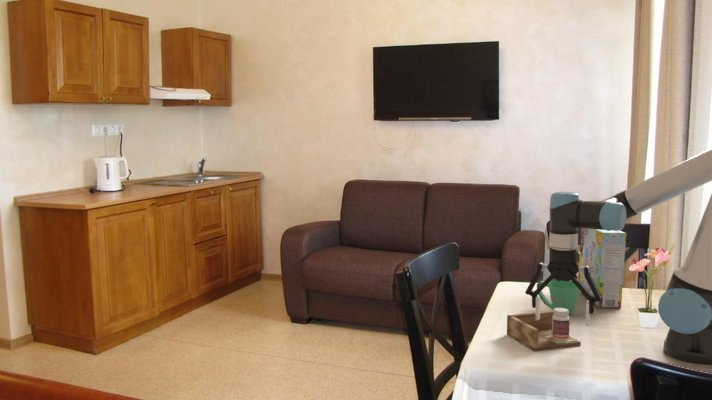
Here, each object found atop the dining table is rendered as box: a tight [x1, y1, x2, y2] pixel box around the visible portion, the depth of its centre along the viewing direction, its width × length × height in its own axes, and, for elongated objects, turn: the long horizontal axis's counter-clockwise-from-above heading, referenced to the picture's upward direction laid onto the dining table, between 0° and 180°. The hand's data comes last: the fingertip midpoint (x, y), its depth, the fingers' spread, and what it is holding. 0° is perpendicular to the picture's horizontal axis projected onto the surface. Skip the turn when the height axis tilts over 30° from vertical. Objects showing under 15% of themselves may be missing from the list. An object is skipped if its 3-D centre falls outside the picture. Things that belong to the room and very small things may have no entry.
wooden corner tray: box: [506, 309, 581, 353], centre depth 182 cm, size 14×15×6 cm
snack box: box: [577, 228, 627, 309], centre depth 222 cm, size 22×9×26 cm, turn 179°
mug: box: [536, 279, 580, 317], centre depth 208 cm, size 15×10×10 cm
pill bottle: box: [551, 308, 571, 341], centre depth 180 cm, size 5×5×8 cm
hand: (562, 322), depth 180 cm, fingers open, 13 cm apart
